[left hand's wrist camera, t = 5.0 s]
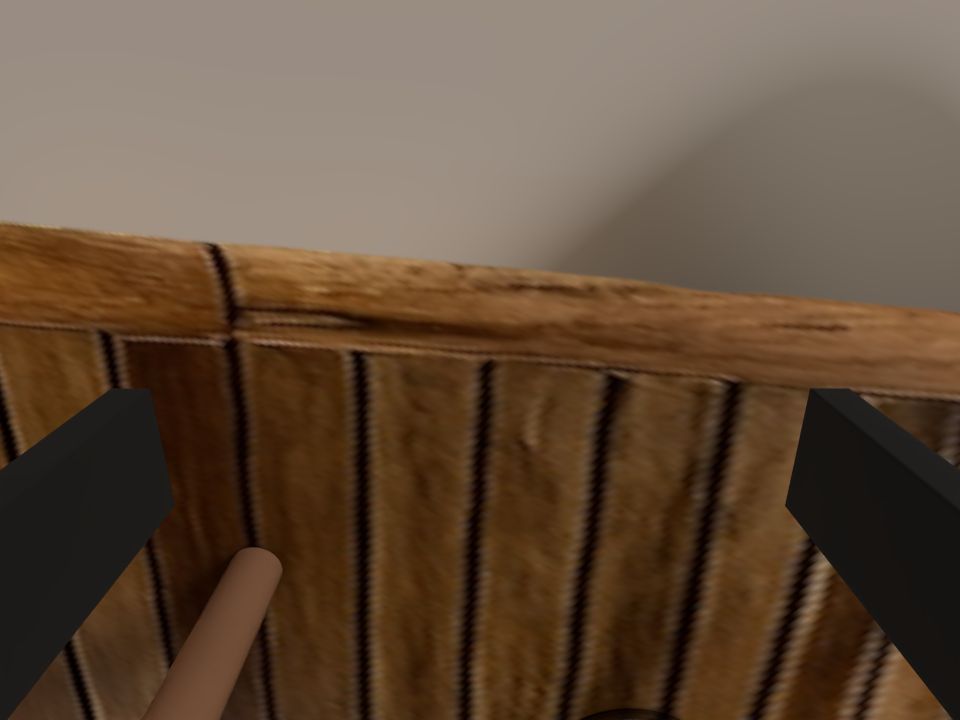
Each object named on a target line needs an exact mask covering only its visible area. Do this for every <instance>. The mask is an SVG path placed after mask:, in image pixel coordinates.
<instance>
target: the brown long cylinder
mask: <svg viewBox="0 0 960 720" xmlns="http://www.w3.org/2000/svg"><path fill="white" fill-rule="evenodd" d="M282 572H283V571H282V565H281V563H280V561H279V559H278V558H277V557H276V556H275V555H274V554H273V553H271V552H269V551H267V550H265V549H262V548H256V547H250V548H245V549H242V550H240V551H239V552H237V553H236V554H235V555H234V556H233V558H232V559H231V561H230V563H229V565H228V567H227V568H226V570H225V572H224V574H223V576H222V577H221V579H220V581H219V583H218V584H217V586H216V588H215V590H214V592H213V593H212V595H211V597H210V599H209V600H208V602H207V604H206V606H205V608H204V609H203V611H202V613H201V615H200V616H199V618H198V620H197V622H196V624H195V625H194V627H193V629H192V631H191V633H190V634H189V636H188V638H187V640H186V641H185V643H184V645H183V647H182V649H181V650H180V652H179V654H178V656H177V657H176V659H175V661H174V663H173V665H172V666H171V668H170V670H169V672H168V673H167V675H166V677H165V679H164V681H163V682H162V684H161V686H160V688H159V689H158V691H157V693H156V695H155V697H154V698H153V700H152V702H151V704H150V706H149V707H148V709H147V711H146V713H145V714H144V716H143V718H142V720H220V718H221V716H222V713H223V711H224V709H225V706H226V704H227V702H228V700H229V697H230V695H231V693H232V690H233V688H234V686H235V683H236V681H237V679H238V676H239V674H240V672H241V669H242V667H243V665H244V662H245V660H246V658H247V656H248V653H249V651H250V649H251V646H252V644H253V642H254V639H255V637H256V635H257V632H258V630H259V628H260V625H261V623H262V621H263V618H264V616H265V614H266V611H267V609H268V607H269V605H270V602H271V600H272V598H273V595H274V593H275V591H276V588H277V586H278V584H279V581H280V579H281V577H282Z"/></svg>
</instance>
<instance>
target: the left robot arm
mask: <svg viewBox="0 0 960 720" xmlns="http://www.w3.org/2000/svg"><path fill="white" fill-rule="evenodd" d="M174 506H175V504H174V499H173V495H172V490H171V485H170V481H169V476H168V471H167V467H166V462H165V457H164V453H163V448H162V443H161V439H160V434H159V429H158V425H157V420H156V415H155V411H154V406H153V401H152V397H151V392H150V389H110V390H109V391H107V392H106V393H105V394H103V395H102V396H101V397H99V398H98V399H97V400H95V401H94V402H92V403H91V404H90V405H88V406H87V407H86V408H84V409H83V410H82V411H80V412H79V413H77V414H76V415H75V416H73V417H72V418H71V419H69V420H68V421H67V422H65V423H64V424H63V425H61V426H60V427H58V428H57V429H56V430H54V431H53V432H52V433H50V434H49V435H48V436H46V437H45V438H44V439H42V440H41V441H39V442H38V443H37V444H35V445H34V446H33V447H31V448H30V449H29V450H27V451H26V452H25V453H23V454H22V455H20V456H19V457H18V458H16V459H15V460H14V461H12V462H11V463H10V464H8V465H7V466H6V467H4V468H3V469H1V470H0V720H7V719H8V718H9V716H10V715H11V714H12V713H13V711H14V710H15V709H16V708H17V706H18V705H19V704H20V702H21V701H22V700H23V699H24V697H25V696H26V695H27V694H28V692H29V691H30V690H31V688H32V687H33V686H34V685H35V683H36V682H37V681H38V679H39V678H40V677H41V676H42V674H43V673H44V672H45V671H46V669H47V668H48V667H49V665H50V664H51V663H52V662H53V660H54V659H55V658H56V657H57V655H58V654H59V653H60V651H61V650H62V649H63V648H64V646H65V645H66V644H67V643H68V641H69V640H70V639H71V637H72V636H73V635H74V634H75V632H76V631H77V630H78V629H79V627H80V626H81V625H82V623H83V622H84V621H85V620H86V618H87V617H88V616H89V615H90V613H91V612H92V611H93V609H94V608H95V607H96V606H97V604H98V603H99V602H100V601H101V599H102V598H103V597H104V595H105V594H106V593H107V592H108V590H109V589H110V588H111V586H112V585H113V584H114V583H115V581H116V580H117V579H118V578H119V576H120V575H121V574H122V572H123V571H124V570H125V569H126V567H127V566H128V565H129V564H130V562H131V561H132V560H133V558H134V557H135V556H136V555H137V553H138V552H139V551H140V550H141V548H142V547H143V546H144V544H145V543H146V542H147V541H148V539H149V538H150V537H151V536H152V534H153V533H154V532H155V530H156V529H157V528H158V527H159V525H160V524H161V523H162V522H163V520H164V519H165V518H166V516H167V515H168V514H169V513H170V511H171V510H172V509H173V507H174ZM785 506H786V507H787V509H788V510H789V511H790V513H791V514H792V515H793V516H794V518H795V519H796V520H797V522H798V523H799V524H800V525H801V527H802V528H803V529H804V530H805V532H806V533H807V534H808V536H809V537H810V538H811V539H812V541H813V542H814V543H815V544H816V546H817V547H818V548H819V550H820V551H821V552H822V553H823V555H824V556H825V557H826V558H827V560H828V561H829V562H830V564H831V565H832V566H833V567H834V569H835V570H836V571H837V572H838V574H839V575H840V576H841V578H842V579H843V580H844V581H845V583H846V584H847V585H848V586H849V588H850V589H851V590H852V592H853V593H854V594H855V595H856V597H857V598H858V599H859V601H860V602H861V603H862V604H863V606H864V607H865V608H866V609H867V611H868V612H869V613H870V615H871V616H872V617H873V618H874V620H875V621H876V622H877V623H878V625H879V626H880V627H881V629H882V630H883V631H884V632H885V634H886V635H887V636H888V637H889V639H890V640H891V641H892V643H893V644H894V645H895V646H896V648H897V649H898V650H899V651H900V653H901V654H902V655H903V657H904V658H905V659H906V660H907V662H908V663H909V664H910V665H911V667H912V668H913V669H914V671H915V672H916V673H917V674H918V676H919V677H920V678H921V680H922V681H923V682H924V683H925V685H926V686H927V687H928V688H929V690H930V691H931V692H932V694H933V695H934V696H935V697H936V699H937V700H938V701H939V702H940V704H941V705H942V706H943V708H944V709H945V710H946V711H947V713H948V714H949V715H950V716H951V718H952V719H953V720H960V470H959V469H957V468H956V467H954V466H953V465H952V464H950V463H949V462H948V461H946V460H945V459H944V458H942V457H941V456H940V455H938V454H937V453H935V452H934V451H933V450H931V449H930V448H929V447H927V446H926V445H925V444H923V443H922V442H921V441H919V440H918V439H916V438H915V437H914V436H912V435H911V434H910V433H908V432H907V431H906V430H904V429H903V428H902V427H900V426H899V425H897V424H896V423H895V422H893V421H892V420H891V419H889V418H888V417H887V416H885V415H884V414H883V413H881V412H880V411H878V410H877V409H876V408H874V407H873V406H872V405H870V404H869V403H868V402H866V401H865V400H863V399H862V398H861V397H859V396H858V395H857V394H855V393H854V392H853V391H851V390H850V389H810V392H809V397H808V401H807V406H806V411H805V415H804V420H803V425H802V429H801V434H800V439H799V443H798V448H797V453H796V457H795V462H794V467H793V471H792V476H791V481H790V485H789V490H788V495H787V499H786V504H785ZM585 720H679V719H677V718H675V717H673V716H670V715H667V714H663V713H660V712H655V711H648V710H619V711H612V712H607V713H603V714H599V715H596V716H593V717H590V718H588V719H585Z"/></svg>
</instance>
